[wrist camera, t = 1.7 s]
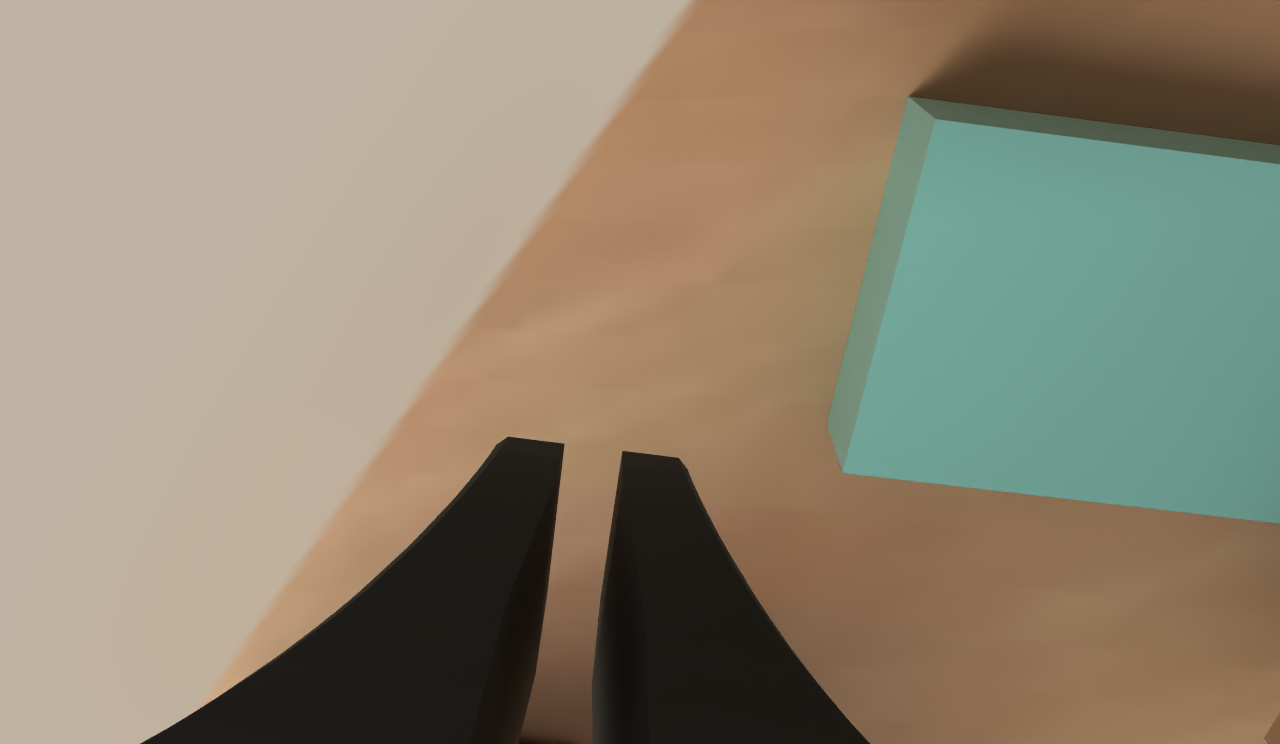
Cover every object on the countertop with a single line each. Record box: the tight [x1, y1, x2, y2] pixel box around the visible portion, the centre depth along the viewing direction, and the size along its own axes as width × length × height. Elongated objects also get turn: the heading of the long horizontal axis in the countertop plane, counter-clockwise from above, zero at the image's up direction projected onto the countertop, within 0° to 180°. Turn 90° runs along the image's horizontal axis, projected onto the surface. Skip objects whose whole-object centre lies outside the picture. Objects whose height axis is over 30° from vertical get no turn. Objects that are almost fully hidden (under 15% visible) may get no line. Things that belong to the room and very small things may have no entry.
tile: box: [827, 96, 1280, 523], centre depth 19 cm, size 10×7×2 cm
